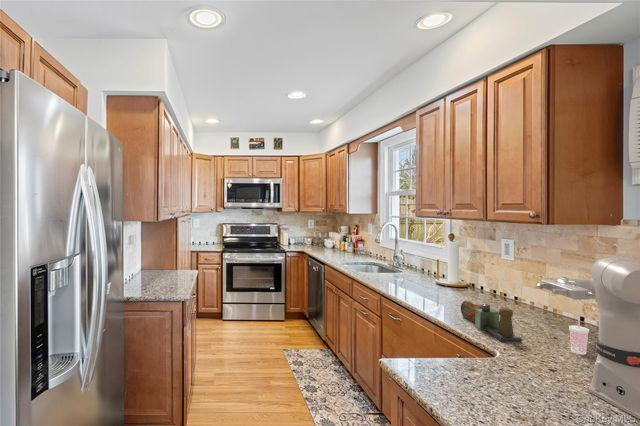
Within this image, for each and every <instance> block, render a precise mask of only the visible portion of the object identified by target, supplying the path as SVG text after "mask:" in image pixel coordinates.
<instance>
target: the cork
mask: <svg viewBox="0 0 640 426" xmlns="http://www.w3.org/2000/svg"><path fill="white" fill-rule="evenodd" d="M498 311H499V327H498V334H500V335H501V336H503V337H513V336H514V335H515V334H514V329H513V328H514V327H513V319H512V317H513V315H514V312H513V309H511V308H509V307H500V308H499V309H498Z"/></svg>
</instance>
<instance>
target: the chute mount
mask: <svg viewBox="0 0 640 426" xmlns="http://www.w3.org/2000/svg"><path fill="white" fill-rule="evenodd" d="M480 305H481V309H476V310H475V322H474V324H475V325H474V327H475V328H477V329H478V330H480V331H485V332H487V333H488V334H489V335H491V336H492V337H494V339H496V340H498V341H499V342H501V343H503V342H506V343H514V342H515V343H519V342H522V340H523V339H522V337H521V336H516V335H515V334H514V336H513V337H503V336H501V335H500V334H498V327H499V321H500V314H499V310H497V309H495V308H491V305H490V304H488V303H481V304H480Z"/></svg>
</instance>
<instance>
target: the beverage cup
mask: <svg viewBox="0 0 640 426" xmlns="http://www.w3.org/2000/svg"><path fill="white" fill-rule="evenodd" d="M577 316H578V318H577V320H578V321H577V325H569V326H568V330H569V337H570V351H571V352H572V353H573V354H575V355H576V354H577V355H582V356H583V355H585V356H586V354H587V349H588V347H587V346H588V341H589V340H588V339H589V338H588V337H589V333H590V329H589V328H587V327H584V326H581V315H580V314H578V315H577Z"/></svg>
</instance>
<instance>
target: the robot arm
mask: <svg viewBox="0 0 640 426" xmlns="http://www.w3.org/2000/svg"><path fill="white" fill-rule="evenodd" d="M590 269H591V271H590V275H591V277H592V278H584V277H582V278H581V277H580V278H579V277H578V278H576V277H575V278H574V277H564V276H563V277H559V278H547V279H546V278H545V279H542V280H541V282H540V283H537V284H536V288H537V289H539V290H543V289H544V290H548V291H550V292H551V294H553V295H559V296H563V297H565V298H569V299H572V300H575V301H576V300H577V301H578V300H579V301H581V300H583V301H585V300H586V301H587V300H591V299H593V300H595V302H596V303H597V308H598V338H597V339H596V343H595V345H596V346H595V347H596V349H595V350H596V353H597V357H596V359H595V363H594V367H593V371H592V372H593V373H592V380H591V381H590V385H589V387H588V392H589V393H590V394H592V395H595V396H596V397H598V398H600V399H601V400H603V401H605V402H607V403H609V404H610V405H613V406H614V407H617V408H618V409H620V410H621V411H624V412H625V413H627V414H630V415H631V416H633V417H635V418H636V419H638V420H640V263H639V262H634V261H631V260H628V259H626V258H621V257H617V256H612V257H611V256H609V257H605V258H603V257H602V258H600V259H597V261H595V262H594V263H593V264H592V266H591V268H590Z"/></svg>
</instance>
